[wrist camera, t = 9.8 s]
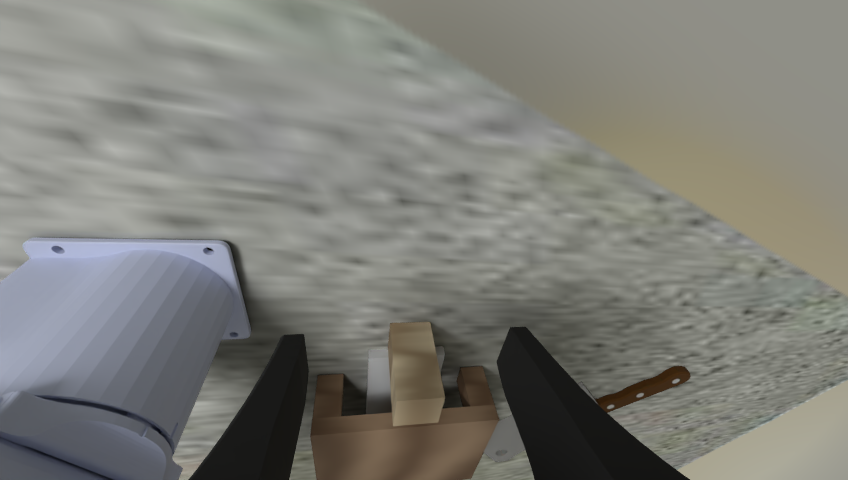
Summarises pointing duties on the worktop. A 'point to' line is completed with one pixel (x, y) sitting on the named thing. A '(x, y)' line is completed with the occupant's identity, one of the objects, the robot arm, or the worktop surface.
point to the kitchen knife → (506, 432)
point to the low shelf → (402, 436)
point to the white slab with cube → (407, 376)
